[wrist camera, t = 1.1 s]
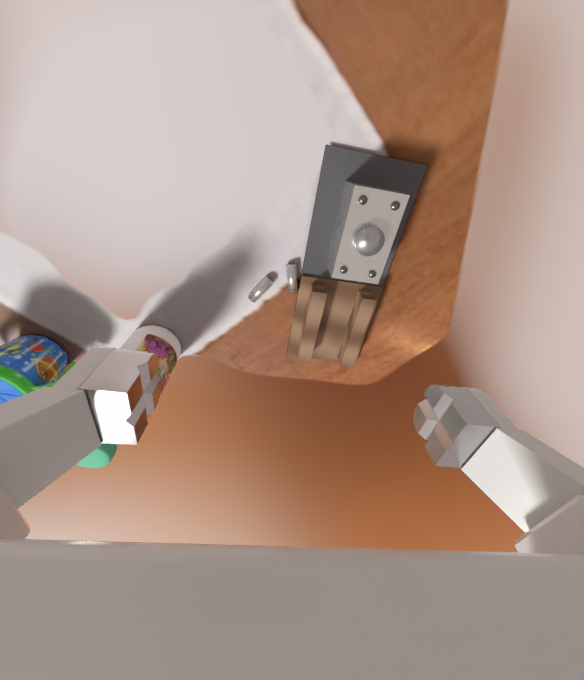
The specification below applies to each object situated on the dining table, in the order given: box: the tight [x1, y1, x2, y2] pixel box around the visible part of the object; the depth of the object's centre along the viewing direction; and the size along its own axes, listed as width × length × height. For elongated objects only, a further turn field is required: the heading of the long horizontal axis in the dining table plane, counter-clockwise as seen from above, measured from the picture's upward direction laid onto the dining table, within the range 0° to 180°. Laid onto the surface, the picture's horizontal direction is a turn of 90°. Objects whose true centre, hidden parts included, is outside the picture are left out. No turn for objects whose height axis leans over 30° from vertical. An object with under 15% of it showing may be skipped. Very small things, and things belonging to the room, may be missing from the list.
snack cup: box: [0, 335, 76, 404], centre depth 40 cm, size 16×10×10 cm
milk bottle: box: [76, 325, 181, 468], centre depth 36 cm, size 8×8×20 cm
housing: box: [326, 181, 410, 284], centre depth 33 cm, size 10×6×6 cm, turn 171°
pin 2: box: [286, 263, 298, 294], centre depth 38 cm, size 4×1×1 cm, turn 4°
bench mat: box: [300, 145, 427, 286], centre depth 35 cm, size 16×12×1 cm
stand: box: [287, 275, 384, 367], centre depth 42 cm, size 14×12×3 cm
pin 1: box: [248, 276, 273, 302], centre depth 39 cm, size 4×1×1 cm, turn 136°
